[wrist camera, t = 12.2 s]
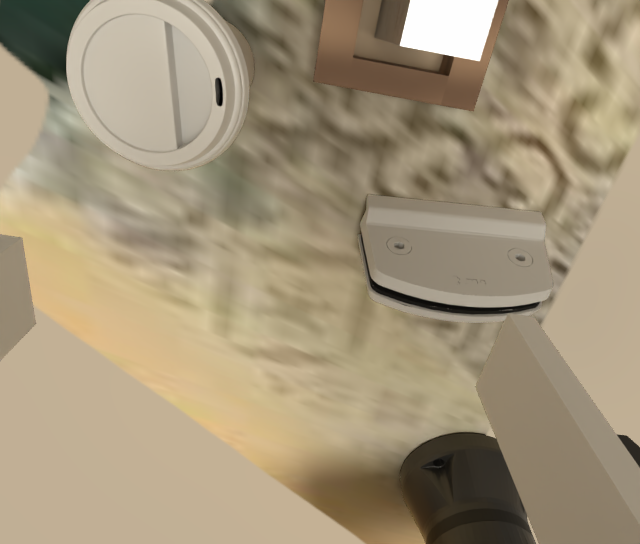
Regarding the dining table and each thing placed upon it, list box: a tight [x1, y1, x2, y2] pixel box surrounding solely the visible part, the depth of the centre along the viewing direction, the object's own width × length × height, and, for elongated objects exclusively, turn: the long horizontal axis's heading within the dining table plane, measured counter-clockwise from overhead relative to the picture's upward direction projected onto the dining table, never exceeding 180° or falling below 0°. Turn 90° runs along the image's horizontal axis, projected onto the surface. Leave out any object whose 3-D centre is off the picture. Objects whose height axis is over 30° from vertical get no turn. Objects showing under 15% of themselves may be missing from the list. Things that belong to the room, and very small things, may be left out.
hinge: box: [358, 194, 553, 323], centre depth 40 cm, size 17×5×10 cm, turn 84°
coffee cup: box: [66, 0, 254, 171], centre depth 29 cm, size 10×10×15 cm
